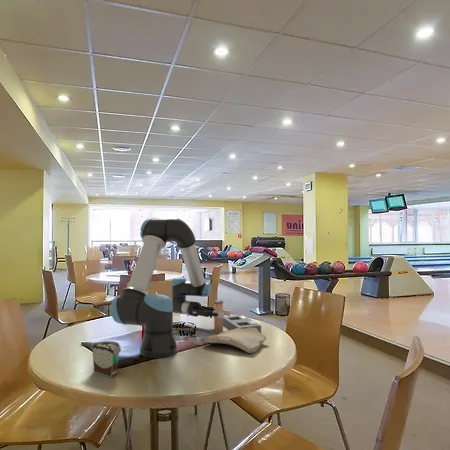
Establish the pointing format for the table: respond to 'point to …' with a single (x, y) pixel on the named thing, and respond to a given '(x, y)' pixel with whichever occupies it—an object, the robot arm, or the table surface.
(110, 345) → the food container
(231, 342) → the beige flat rock
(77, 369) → the table surface
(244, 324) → the socket board
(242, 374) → the table surface
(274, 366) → the table surface
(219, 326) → the plug
